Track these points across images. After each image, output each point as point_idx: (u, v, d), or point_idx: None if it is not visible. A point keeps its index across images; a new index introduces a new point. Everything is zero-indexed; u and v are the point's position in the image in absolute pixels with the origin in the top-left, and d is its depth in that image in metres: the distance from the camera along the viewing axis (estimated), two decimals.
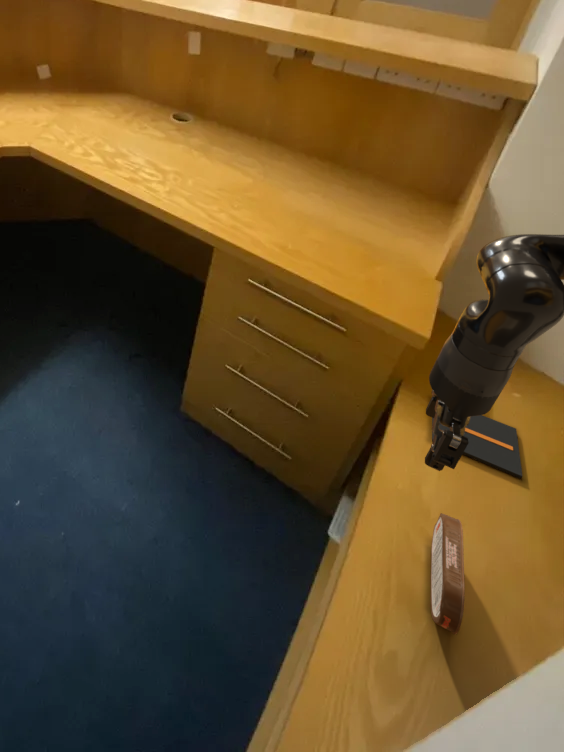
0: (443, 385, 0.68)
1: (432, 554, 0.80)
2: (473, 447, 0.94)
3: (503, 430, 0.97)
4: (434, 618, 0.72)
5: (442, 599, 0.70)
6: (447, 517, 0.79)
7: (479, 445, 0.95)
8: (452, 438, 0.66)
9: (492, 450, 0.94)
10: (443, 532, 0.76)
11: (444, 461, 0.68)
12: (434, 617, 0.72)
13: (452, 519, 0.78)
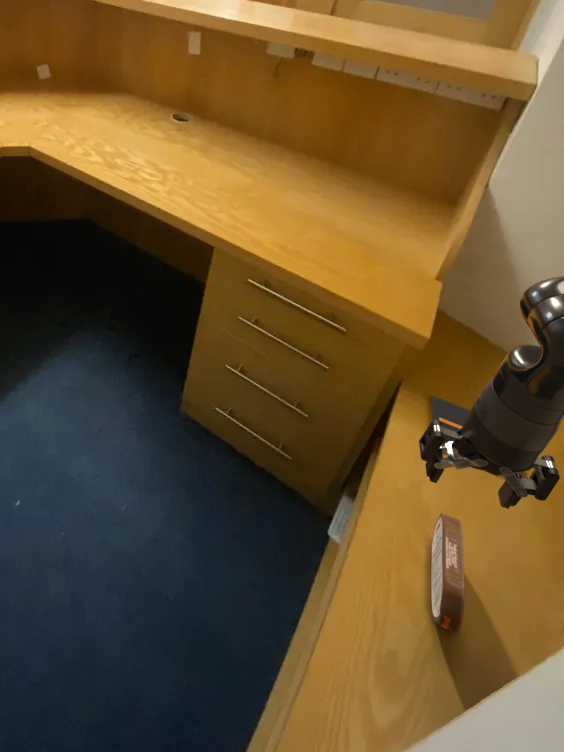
0: None
1: (432, 554, 0.80)
2: None
3: None
4: (434, 618, 0.72)
5: (442, 599, 0.70)
6: (447, 517, 0.79)
7: None
8: (434, 425, 0.68)
9: None
10: (443, 532, 0.76)
11: (421, 447, 0.70)
12: (434, 617, 0.72)
13: (452, 519, 0.78)
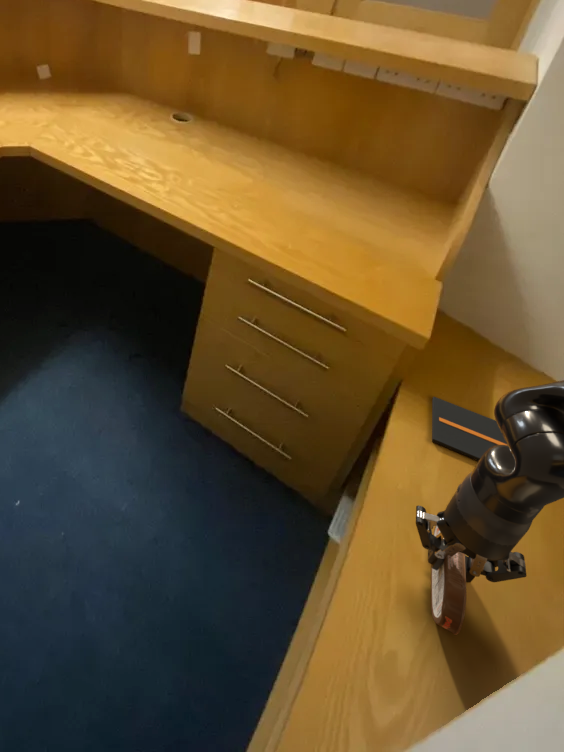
0: None
1: None
2: (473, 447, 0.94)
3: None
4: (435, 618, 0.72)
5: (444, 600, 0.70)
6: None
7: (479, 445, 0.95)
8: (416, 511, 0.74)
9: None
10: None
11: None
12: (435, 617, 0.72)
13: None
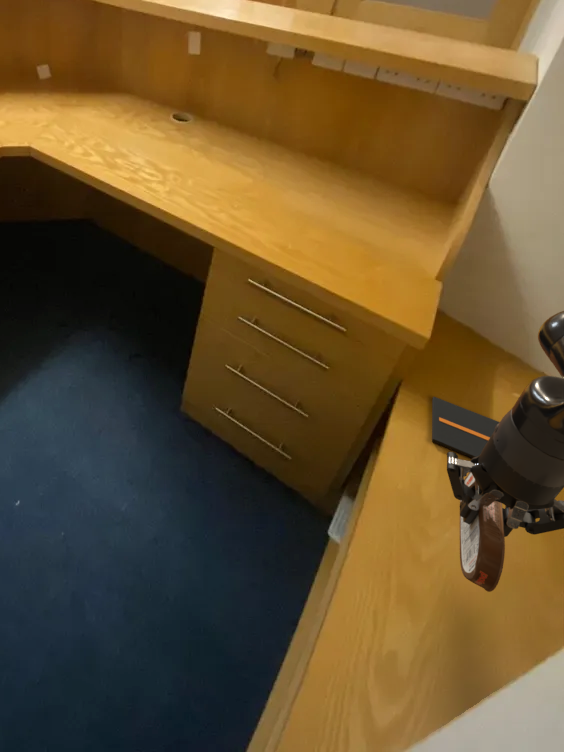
0: None
1: None
2: (473, 447, 0.94)
3: None
4: (466, 574, 0.65)
5: (479, 553, 0.63)
6: None
7: (479, 445, 0.95)
8: (447, 458, 0.67)
9: None
10: None
11: None
12: (466, 573, 0.65)
13: None
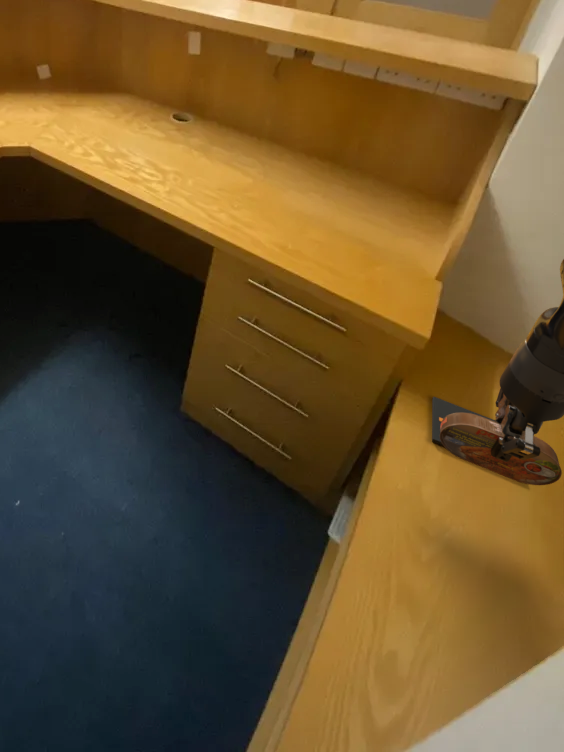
0: None
1: None
2: None
3: None
4: None
5: None
6: (552, 450, 0.74)
7: None
8: None
9: None
10: None
11: None
12: None
13: (552, 453, 0.73)
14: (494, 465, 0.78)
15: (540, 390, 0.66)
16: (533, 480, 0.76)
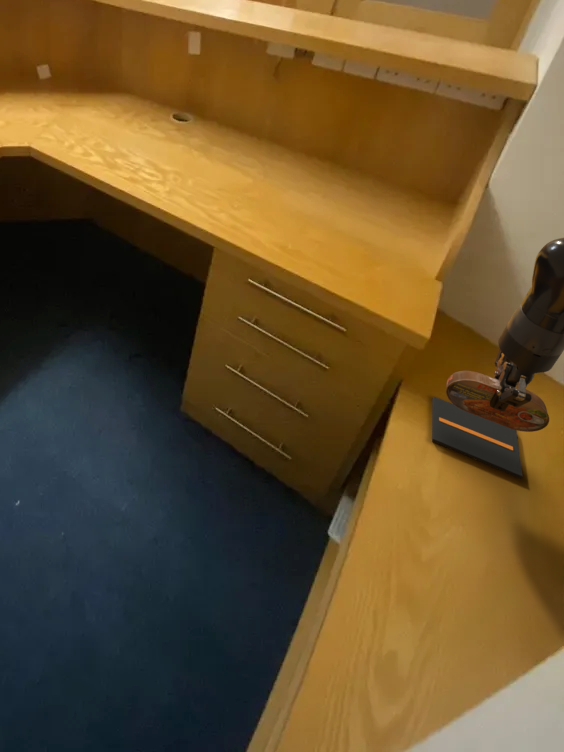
0: None
1: None
2: (473, 447, 0.94)
3: (503, 430, 0.97)
4: None
5: (462, 371, 0.93)
6: (542, 401, 0.87)
7: (479, 445, 0.95)
8: None
9: (492, 450, 0.94)
10: None
11: None
12: None
13: (542, 403, 0.87)
14: (492, 415, 0.92)
15: (532, 346, 0.80)
16: (525, 427, 0.90)
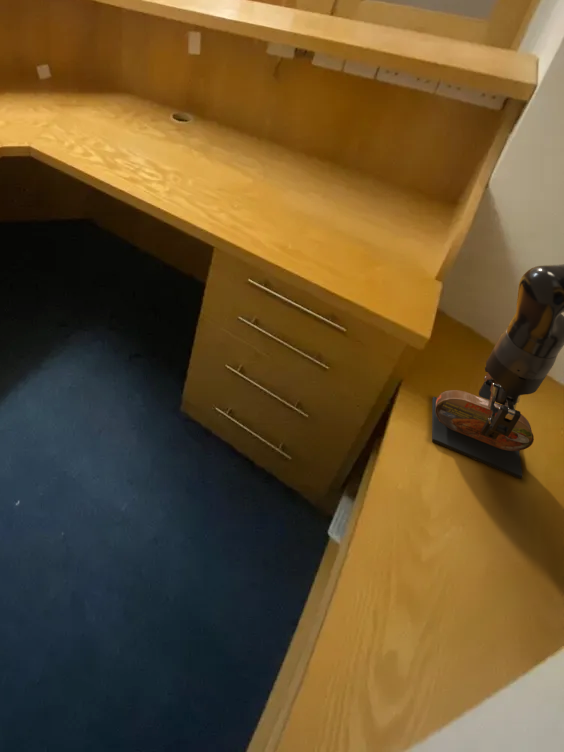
0: None
1: None
2: (473, 447, 0.94)
3: None
4: None
5: (450, 390, 0.97)
6: (526, 420, 0.91)
7: (479, 445, 0.95)
8: None
9: (492, 450, 0.94)
10: None
11: None
12: None
13: (526, 422, 0.91)
14: (480, 435, 0.95)
15: (517, 369, 0.83)
16: (511, 447, 0.93)
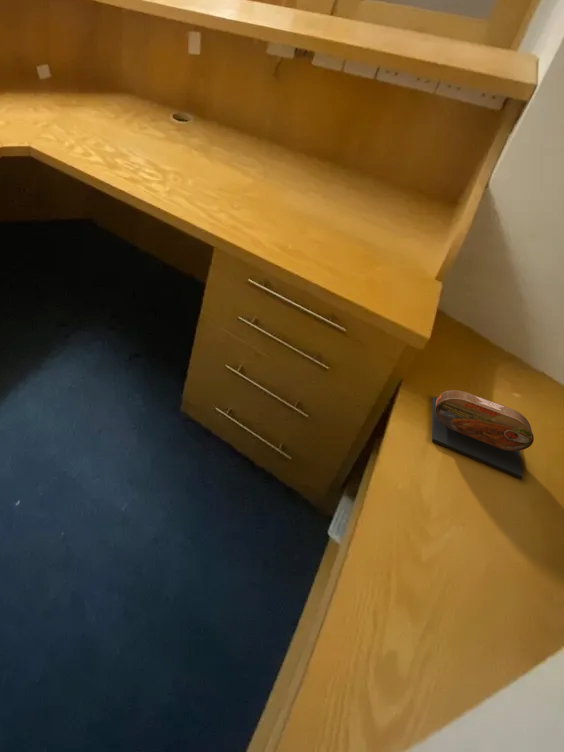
0: None
1: None
2: (473, 447, 0.94)
3: None
4: None
5: (450, 390, 0.97)
6: (526, 420, 0.91)
7: (479, 445, 0.95)
8: None
9: (492, 450, 0.94)
10: (506, 407, 0.93)
11: None
12: None
13: (526, 422, 0.91)
14: (480, 435, 0.95)
15: None
16: (511, 447, 0.93)
